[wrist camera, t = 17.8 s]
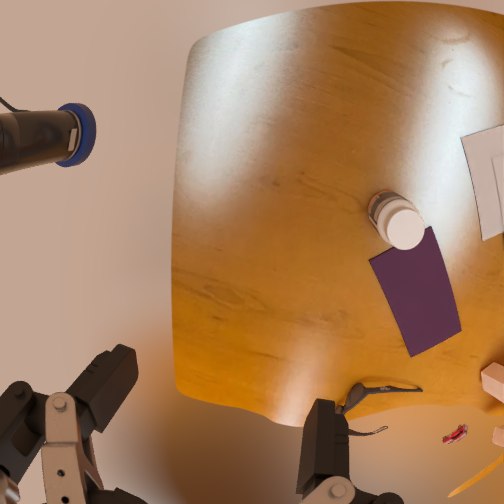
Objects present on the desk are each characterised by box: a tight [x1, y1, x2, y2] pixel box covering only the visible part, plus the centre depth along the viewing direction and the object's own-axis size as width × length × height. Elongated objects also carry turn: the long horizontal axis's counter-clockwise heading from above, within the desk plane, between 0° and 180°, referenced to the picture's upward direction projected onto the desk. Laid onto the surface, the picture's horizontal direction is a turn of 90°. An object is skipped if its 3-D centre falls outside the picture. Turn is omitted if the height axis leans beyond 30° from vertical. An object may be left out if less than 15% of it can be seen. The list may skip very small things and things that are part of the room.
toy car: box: [442, 425, 468, 444], centre depth 50 cm, size 4×8×3 cm, turn 148°
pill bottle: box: [368, 191, 425, 250], centre depth 33 cm, size 6×6×10 cm
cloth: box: [369, 226, 462, 357], centre depth 41 cm, size 22×11×1 cm, turn 34°
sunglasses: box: [335, 383, 423, 436], centre depth 49 cm, size 16×17×5 cm
